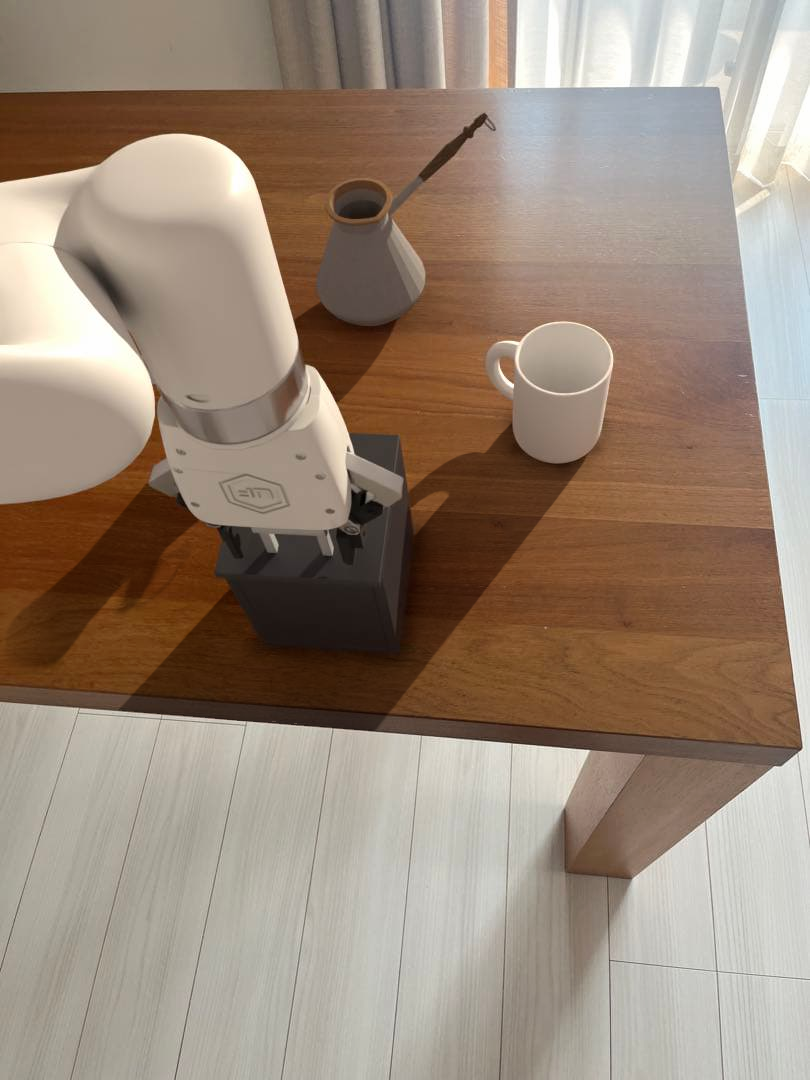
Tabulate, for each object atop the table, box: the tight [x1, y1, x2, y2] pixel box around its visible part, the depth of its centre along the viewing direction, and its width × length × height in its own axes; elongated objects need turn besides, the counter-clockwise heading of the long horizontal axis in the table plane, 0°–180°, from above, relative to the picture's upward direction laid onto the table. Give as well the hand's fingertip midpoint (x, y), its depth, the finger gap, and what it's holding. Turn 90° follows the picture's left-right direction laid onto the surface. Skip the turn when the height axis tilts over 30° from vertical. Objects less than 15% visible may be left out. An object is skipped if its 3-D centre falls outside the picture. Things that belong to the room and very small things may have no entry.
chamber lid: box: [214, 432, 401, 588], centre depth 63 cm, size 13×12×5 cm
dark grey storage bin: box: [225, 441, 415, 655], centre depth 71 cm, size 12×12×14 cm
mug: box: [484, 321, 614, 464], centre depth 80 cm, size 12×8×10 cm
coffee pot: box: [315, 112, 497, 327], centre depth 89 cm, size 21×12×15 cm, turn 124°
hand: (297, 542), depth 61 cm, fingers open, 7 cm apart
